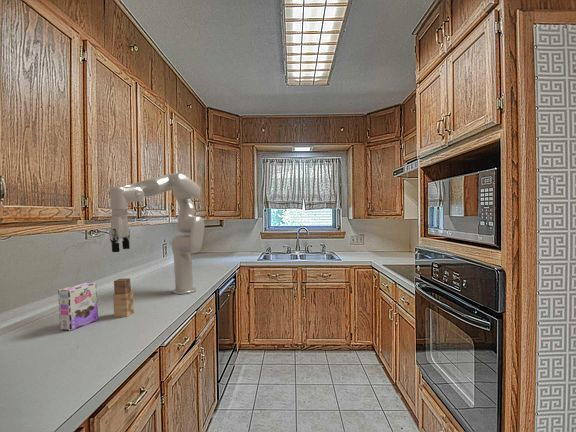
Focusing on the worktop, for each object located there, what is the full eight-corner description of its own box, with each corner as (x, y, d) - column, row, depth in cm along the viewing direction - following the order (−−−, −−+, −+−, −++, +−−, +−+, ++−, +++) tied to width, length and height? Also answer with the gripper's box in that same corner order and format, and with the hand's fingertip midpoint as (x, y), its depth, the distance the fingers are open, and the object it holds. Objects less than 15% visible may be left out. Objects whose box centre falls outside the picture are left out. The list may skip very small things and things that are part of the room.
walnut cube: (120, 291, 168) (119, 278, 168) (130, 291, 168) (130, 278, 168) (114, 294, 163) (113, 280, 163) (125, 294, 163) (124, 280, 163)
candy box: (70, 331, 146) (68, 290, 146) (59, 330, 148) (57, 289, 147) (98, 320, 159) (96, 282, 159) (88, 319, 161) (86, 282, 161)
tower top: (120, 302, 169) (120, 291, 169) (133, 302, 168) (132, 291, 168) (113, 305, 163) (112, 294, 163) (126, 305, 162) (126, 294, 162)
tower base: (121, 313, 169) (120, 302, 169) (133, 312, 169) (133, 302, 168) (114, 317, 163) (113, 305, 163) (127, 316, 163) (126, 305, 163)
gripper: (119, 213, 179) (122, 248, 180) (100, 214, 161) (103, 253, 162) (135, 212, 178) (137, 247, 179) (117, 214, 161) (119, 253, 162)
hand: (121, 250), depth 171 cm, fingers open, 9 cm apart
